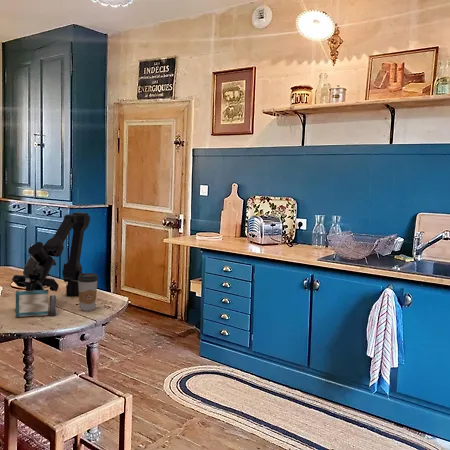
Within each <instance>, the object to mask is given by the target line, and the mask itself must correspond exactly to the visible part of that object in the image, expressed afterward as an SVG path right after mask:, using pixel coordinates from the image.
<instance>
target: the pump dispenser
mask: <svg viewBox="0 0 450 450" xmlns="http://www.w3.org/2000/svg"><path fill="white" fill-rule="evenodd" d="M37 264H38V262H36V261H35V260H34V259H33V258H32V256H30V257H29V258H28V259H27V261H26V264H25V265H24V267H25V266H33V267H34V266H37ZM22 275H23V276H24V277H25V278H28V277H27V274H23V273H22ZM28 279H30V278H28Z"/></svg>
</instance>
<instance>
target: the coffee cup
mask: <svg viewBox="0 0 450 450" xmlns="http://www.w3.org/2000/svg"><path fill="white" fill-rule="evenodd" d="M82 273H83V272H82ZM98 278H99V277H98V275H97V274H96V273H93V272H92V273H91V272H85V273H83V274H80V275H79V277H78V286H79V296H78V300H79V301H78V303H79V304H78V305H79V309H80V310H81V311H84V312H89V311H90V310H91V311H95V308H96V301H97V291H98V290H97V289H98V281H99V279H98ZM91 311H90V312H91Z"/></svg>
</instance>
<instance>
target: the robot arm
mask: <svg viewBox="0 0 450 450" xmlns="http://www.w3.org/2000/svg"><path fill="white" fill-rule="evenodd" d="M90 222H91V217H90V215H89V214H88V212H78V211H77V212H76V211H75V212H73V213H72V214H65V215H64V216H63V220H62V222H61V223H60V226H59V227H58V228H57V230H56V232H55V234H54V235H53V236H52V237H51V238H50V239H48V240H47V241H46V242H45V243H43V242H41V241H36V243H34V244H32V245H31V246H29V248H28V251H27V252H28V254H29V255H30V257H32V258H33V259H34V260H35V261H36V262H38V264H37V266H34V267H33V266H25V265H24V266H23V267H24V268H23V271H22V274H14V275H13V277H12V279H11V280H12V282H14V284H15V285H16V286H17V287H18V288H25V291H31V290H45V287H48V288H49V291H51V292H57V291H58V290H59V284H58V283H57V281H56V280H55V279H54V278H50V276H51V275H50V271H51V268H52V267H53V266H57V262H56V259H54V258H55V257H56V258H59V257H61V255H62V253H63V251H64V248H65V247H64V242H65V241H66V239H67V237H68V236H69V235H70V234H69V233H70V232H71V230H73V231H72V237H71V244H70V250H69V255H68V256H69V257H68V260H67V262H66V263H64V264H63V270H62V278H63V282H65V283H67V284H66V287H65V290H66V291H65V292H66V293H65V294H66V297H79V286H78V277H79V275H80V274H83V266H82V264H81V256H82V255H81V254H82V248H83V243H84V241H83V240H84V235H85V233H84V232H85V231H86V230H87V229H88V228H89V226H90ZM53 257H54V258H53ZM23 274H27V277H28V278H30V279H28V278H25V277H24V276H23ZM48 277H49V278H48Z"/></svg>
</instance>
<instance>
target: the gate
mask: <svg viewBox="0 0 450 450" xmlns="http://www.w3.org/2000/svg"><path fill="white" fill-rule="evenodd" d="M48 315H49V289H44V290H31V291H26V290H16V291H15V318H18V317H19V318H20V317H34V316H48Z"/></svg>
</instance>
